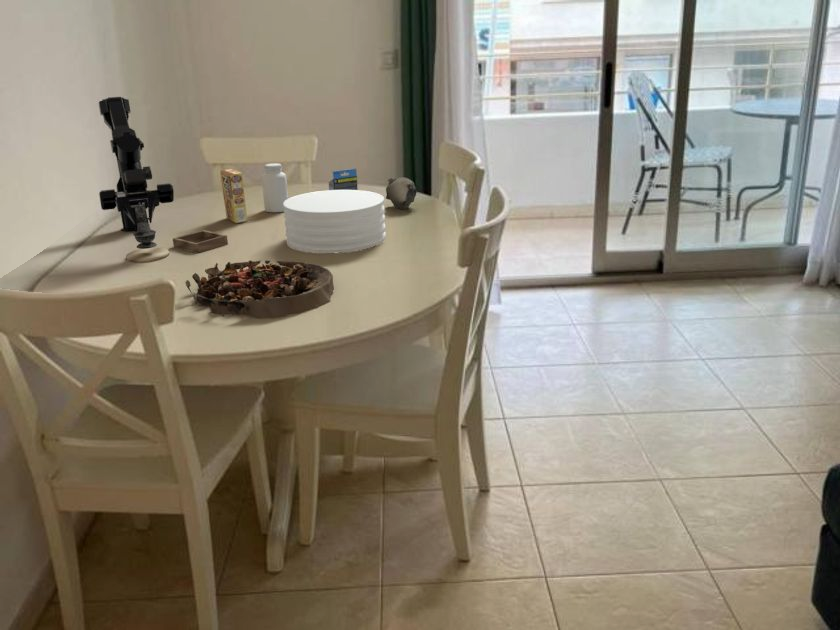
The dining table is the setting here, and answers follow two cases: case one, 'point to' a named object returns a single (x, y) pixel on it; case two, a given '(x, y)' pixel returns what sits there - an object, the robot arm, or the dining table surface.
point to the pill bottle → (274, 188)
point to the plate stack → (334, 221)
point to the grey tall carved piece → (143, 229)
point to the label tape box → (344, 180)
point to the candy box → (234, 195)
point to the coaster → (147, 255)
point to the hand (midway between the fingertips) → (143, 223)
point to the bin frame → (210, 237)
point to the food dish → (264, 289)
